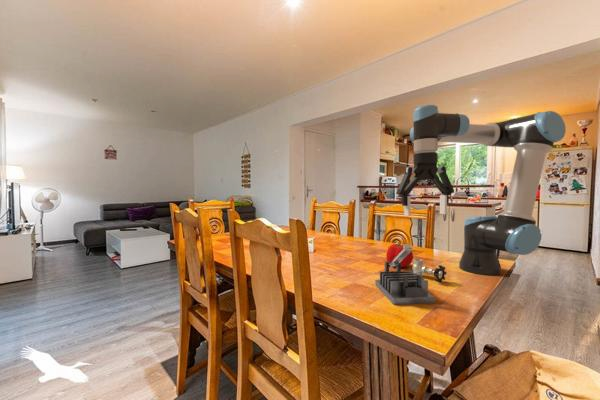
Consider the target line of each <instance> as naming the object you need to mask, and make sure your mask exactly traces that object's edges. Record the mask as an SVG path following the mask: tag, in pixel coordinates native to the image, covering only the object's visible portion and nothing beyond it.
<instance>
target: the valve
mask: <svg viewBox="0 0 600 400" xmlns="http://www.w3.org/2000/svg"><path fill="white" fill-rule="evenodd" d="M412 261H413V264H412V267H411V268H412V271H414V273H417V274H420V275H421V276H422V277H423V275H424V274H425V275H427V274H430V275H433V276H434V277H435V279H434V280H435V282H437V283H440V284H442V283H443V281H445V280H446V277H445V275H447V271H445V270H446V267H445V266H443V265H440V264H438V267H435V270H434V269H432V268H429V267H428V266H427V265H423V264H424V260H423V259H420V258H413V259H412Z"/></svg>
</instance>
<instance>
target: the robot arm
mask: <svg viewBox="0 0 600 400" xmlns="http://www.w3.org/2000/svg"><path fill="white" fill-rule="evenodd" d="M412 119H413V120H412V123H413V124H412V125H413V126H412V127H411V129H410V130H409V138H410V139H411V141H412V142H413V153H414V154H413V167H412V166H408V167H405V169H404V174H403V177H402V179H401V182H400V184H399V186H398V187H397V191H395V192H396V195H399V196H401V205H402V206H403V215H404V216H409V217H410V216H411V196H409V195H410V194H411V192H412V191H413V190H414V188H415V187H416V186H417V184H418V183H419V182H420V181H431V182H432V183H433V184H434V185H435V187H436V188H437V189H438V191H439V192H440V193H441V194H440V195H439V214H441V215H448V205H449V203H450V202H449V196H451V194H454V192H455V189H454V187H453V184H452V182H451V180H450V178H449V176H448V173H447V167H446V166H443V165H442V166H439V167H438V166H437V165H438V163H439V160H438V159H439V157H438V155H439V154H438V153H437V152H438V151H439V143H462V144H482V145H483V146H485V147H498V148H513V149H514V151H516V155H515V156H516V157H515V161H514V166H513V170H512V173H511V178H510V183H509V187H508V192H507V196H506V201H505V204H504V208H503V211H502V212H500V213H498V214H497V215H487V216H485V215H484V216H467V217H466V218H465V220H464V226H463V227H464V229H463V230H464V234H463V238H464V239H463V240H464V241H463V242H464V244H463V245H464V247H463V248H464V249H463V252H462V255H461V257H460V260H459V264H458V265H459V267H458V268H459V269H460V270H462V271H464V272H469V273H472V274H478V275H490V276H492V275H493V276H494V275H500V274H502V265H501V264H500V260H499V259H500V258H499V257H498V255H497V254H498V253H497V251H501V252H505V253H509V254H513V255H518V256H519V255H520V256H521V255H522V256H524V255H525V256H526V255H529V254H531V253H532V252H534V251H536V250H537V248H538V247H539V245H540V244H541V241H542V233H541V232H542V231H541V229H540V227H538V226H537V225H536V223H537V220H536V219H535V218H534V217H533V213H534V208H535V203H536V200H537V196H538V192H539V191H538V190H539V186H540V182H541V176H542V173H543V169H544V166H545V165H544V164H545V159H546V155H547V154H548V153H549V152H551V151H552V150H553V149H554V145H555V143H558V142H561V141H562V139H563V138H564V137H565V135H566V124H565V121H564V119H563V117H562V116H561V115H560V114H559V113H558V112H556V111H554V110H546V111H539V112H535V113H532V114H527V115H524V116H521V117H517V118H511V119H508V120H507V119H506V120H502V121H498V122H488V123H485V124H476V123H474V124H473V123H470V118H469V116H468V115H466V114H460V113H456V112H455V113H444V112H439V109H438V106H437V105H435V104H425V105H420V106H418V107H416V108H415V109H414V110H413V118H412ZM413 173H414V175H413V176H412V174H413ZM437 173H438V174H437ZM411 177H412V178H411Z"/></svg>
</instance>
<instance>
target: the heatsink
mask: <svg viewBox="0 0 600 400" xmlns="http://www.w3.org/2000/svg"><path fill="white" fill-rule="evenodd" d="M395 268H396V270H392V271H391V270H390V267H389V262H388V261H387V260H386V261H384V271H379V279H375V281H374V282H375V286H376V288H377V289H378V290H379V291H380V292H381V293H382V294H383V295H384V296H385V297H386V298H387V300H389V302H391V304H392V305H395V306H396V305H420V304H421V305H423V304H435V302H436V298H435V297H436V296H434V295H433V294H432V293H430V291H429V280H428V279H425V278H424V277H423V276H421V275H420V274H417V273H414V271H413V270H402V268H401V262H400V263H399V264H398V265H397V267H395Z"/></svg>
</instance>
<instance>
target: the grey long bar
mask: <svg viewBox="0 0 600 400" xmlns="http://www.w3.org/2000/svg"><path fill="white" fill-rule="evenodd" d="M402 245H403V248H404V249H403V250H402V251H401V252H400V253H399V254H398V256H397V257H396V258H395V259H394V260H393V261H392V262H391V263H390V264H389V268H396V267H397V265H398V264H399V263H400V262H401V261H402V260H403V259H404V258H405V257H406V256H407V255H408V254H409V253H410V252H411V251H412V252H413V247H412V244H411V243H407V244H405V243H404V244H402Z"/></svg>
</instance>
